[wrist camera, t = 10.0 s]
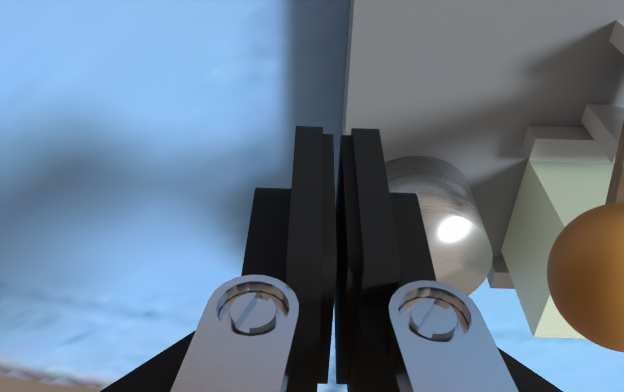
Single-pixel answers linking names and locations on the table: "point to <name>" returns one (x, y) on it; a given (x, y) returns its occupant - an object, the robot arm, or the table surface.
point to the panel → (488, 89)
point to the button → (446, 219)
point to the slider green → (548, 232)
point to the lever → (593, 267)
